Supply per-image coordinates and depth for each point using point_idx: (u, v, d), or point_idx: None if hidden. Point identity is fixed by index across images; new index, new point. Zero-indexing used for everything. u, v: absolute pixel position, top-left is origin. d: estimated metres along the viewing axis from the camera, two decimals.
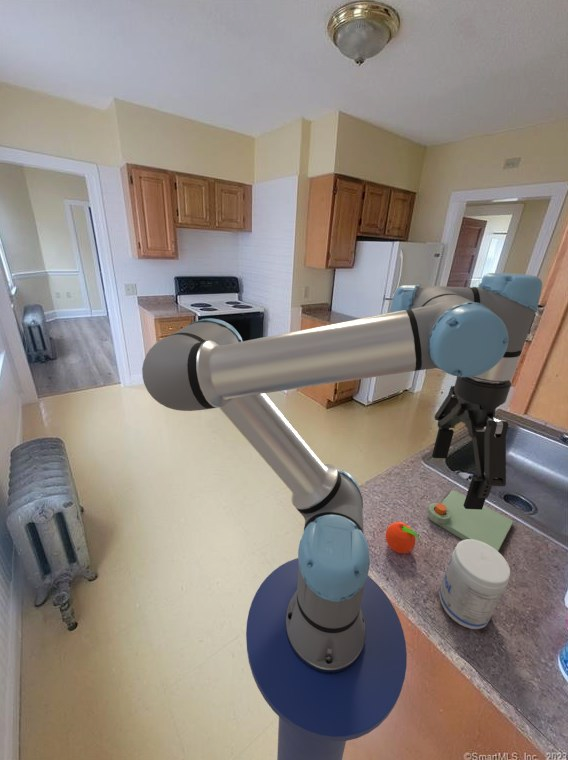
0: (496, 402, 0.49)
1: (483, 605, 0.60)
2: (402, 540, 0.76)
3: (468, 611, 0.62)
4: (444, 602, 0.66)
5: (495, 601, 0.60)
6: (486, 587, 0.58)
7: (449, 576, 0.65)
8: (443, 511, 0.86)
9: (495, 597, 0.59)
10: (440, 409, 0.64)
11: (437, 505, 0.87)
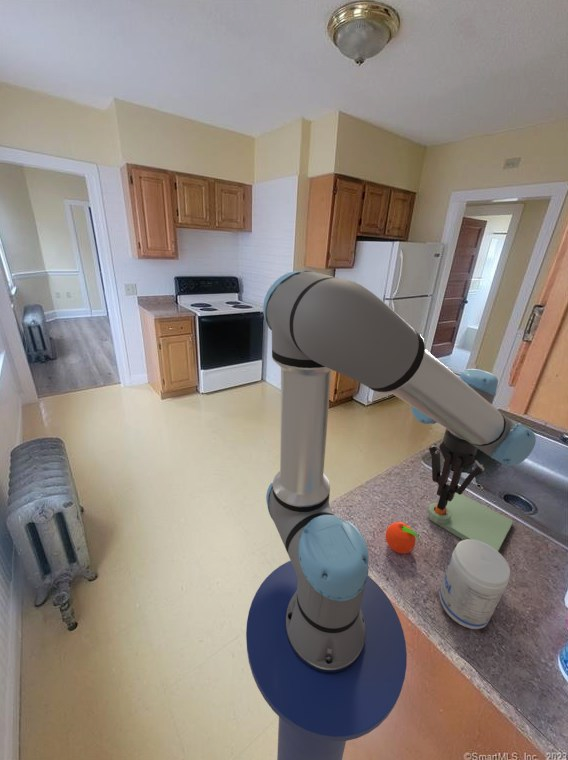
0: (477, 448, 0.76)
1: (483, 605, 0.60)
2: (402, 540, 0.76)
3: (468, 611, 0.62)
4: (444, 602, 0.66)
5: (495, 601, 0.60)
6: (486, 587, 0.58)
7: (449, 576, 0.65)
8: (443, 511, 0.86)
9: (495, 598, 0.59)
10: (433, 470, 0.84)
11: (437, 505, 0.87)
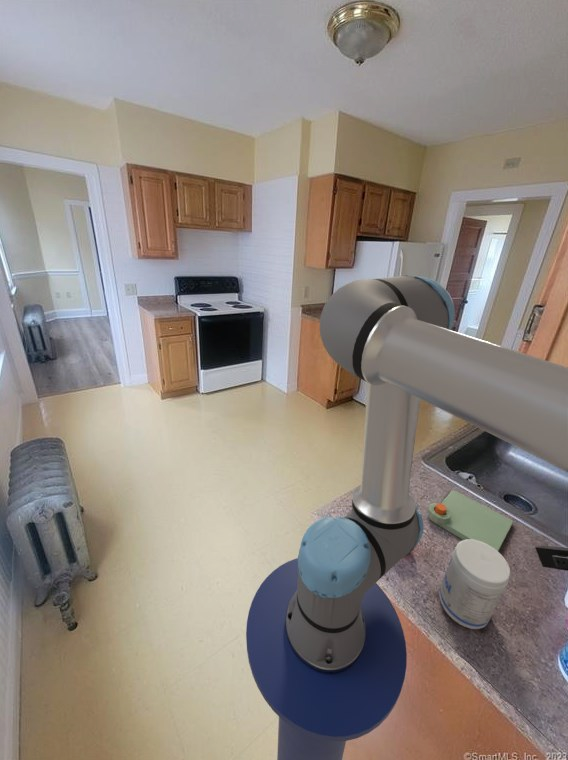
0: None
1: (483, 605, 0.60)
2: None
3: (468, 611, 0.62)
4: (444, 602, 0.66)
5: (495, 601, 0.60)
6: (486, 587, 0.58)
7: (449, 576, 0.65)
8: (443, 511, 0.86)
9: (495, 598, 0.59)
10: None
11: (437, 505, 0.87)
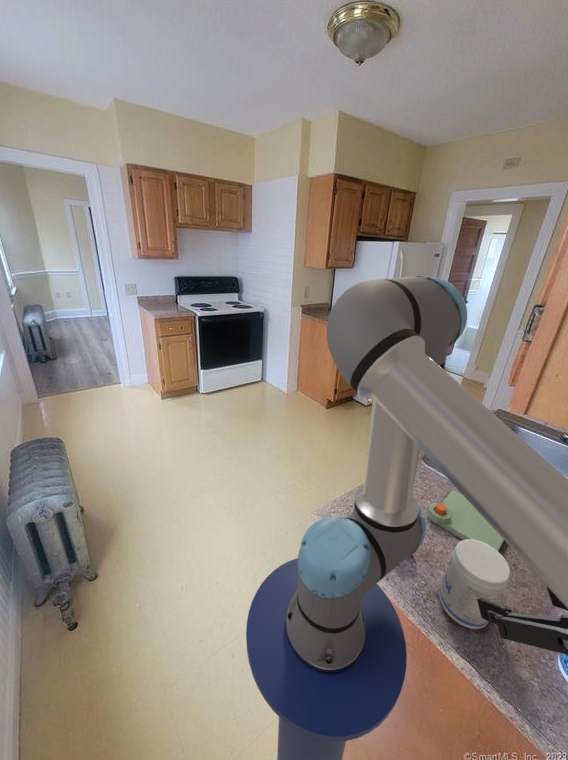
0: None
1: None
2: None
3: (468, 611, 0.62)
4: (444, 602, 0.66)
5: (495, 601, 0.60)
6: (486, 587, 0.58)
7: (449, 576, 0.65)
8: (443, 511, 0.86)
9: (495, 598, 0.59)
10: None
11: (437, 505, 0.87)
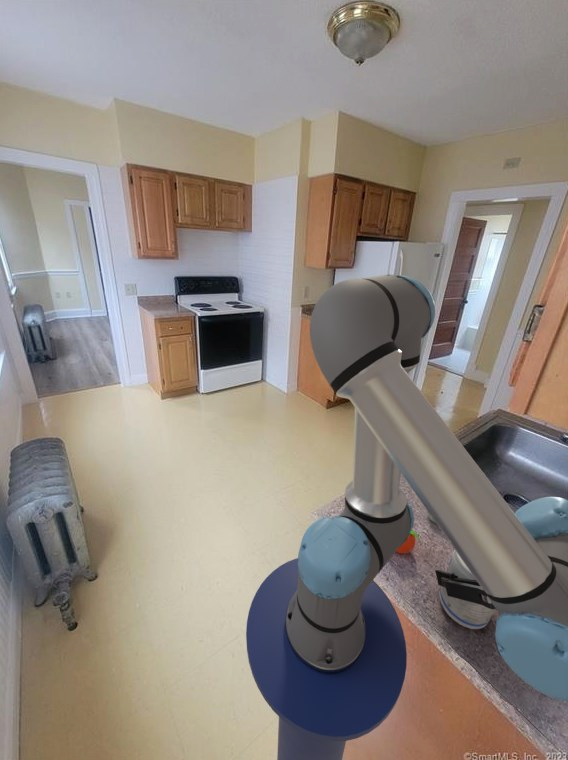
0: None
1: None
2: None
3: (468, 611, 0.62)
4: (444, 602, 0.66)
5: None
6: None
7: None
8: None
9: None
10: None
11: None
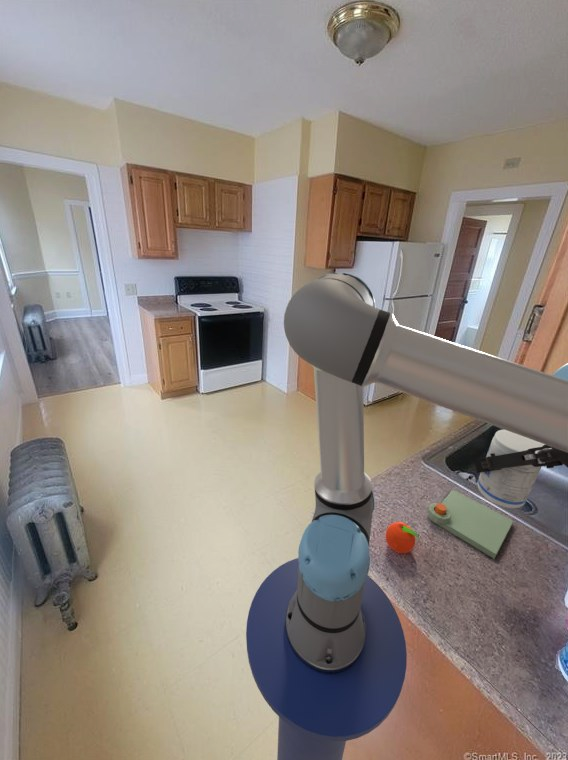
0: (561, 456, 0.55)
1: (522, 479, 0.66)
2: (402, 540, 0.76)
3: (507, 489, 0.67)
4: (483, 488, 0.72)
5: (533, 476, 0.65)
6: None
7: None
8: (443, 511, 0.86)
9: (533, 471, 0.65)
10: None
11: (437, 505, 0.87)
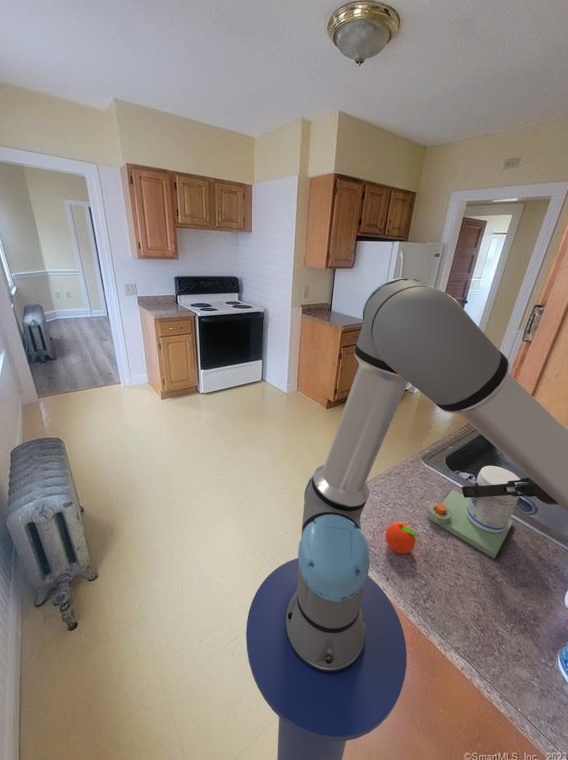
0: (534, 490, 0.68)
1: (502, 510, 0.79)
2: (402, 540, 0.76)
3: (490, 517, 0.81)
4: (470, 515, 0.86)
5: (511, 507, 0.79)
6: None
7: None
8: (443, 511, 0.86)
9: (511, 503, 0.78)
10: None
11: (437, 505, 0.87)
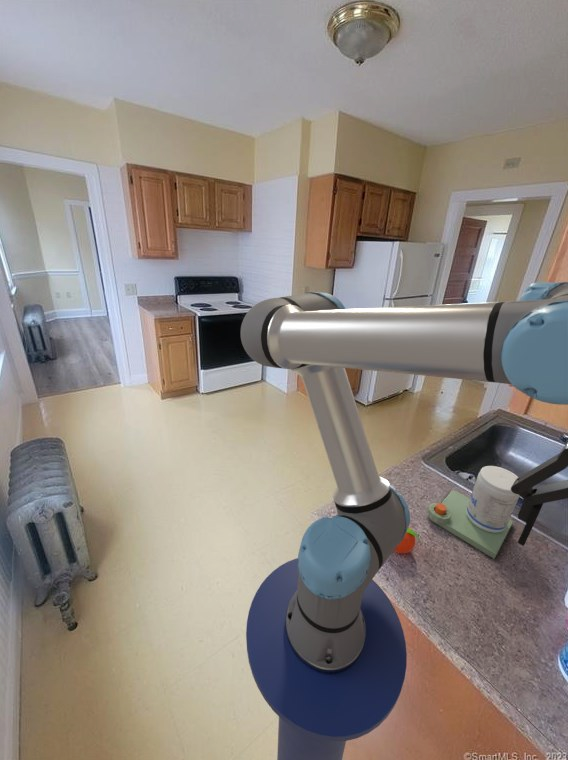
0: None
1: (502, 510, 0.79)
2: (402, 540, 0.76)
3: (490, 517, 0.81)
4: (470, 515, 0.86)
5: (511, 507, 0.79)
6: (505, 494, 0.77)
7: (474, 493, 0.84)
8: (443, 511, 0.86)
9: (511, 503, 0.78)
10: None
11: (437, 505, 0.87)
